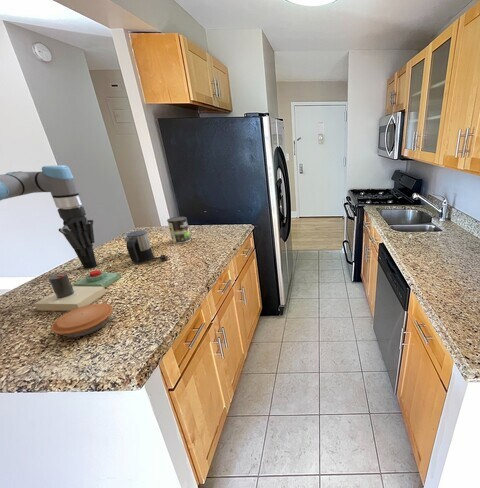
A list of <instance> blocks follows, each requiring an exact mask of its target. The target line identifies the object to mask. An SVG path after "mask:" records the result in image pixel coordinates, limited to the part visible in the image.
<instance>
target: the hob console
mask: <svg viewBox="0 0 480 488" xmlns="http://www.w3.org/2000/svg"><path fill="white" fill-rule="evenodd" d="M72 287H73V290H74V293H73V294H72V295H70V296H67V297H64V298H57V297H56V295H55V292H54V291H53V293H50V294H49V295H47V296H45V297H43V298H41V299H39V300H37V301H36V302H34V303H33V304H34V306H35V309H36V311H53V312H54V311H55V312H60V311H61V312H70V311H72V310H74V309H77V308H79V307H83V306H86V305H91V304H93V303H94V302H95V301H97V300H99V299H100V298H101V297H103V296H104V295H106V294H107V290H106V287H105V288H104V287H87V286H74V285H72Z"/></svg>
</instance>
